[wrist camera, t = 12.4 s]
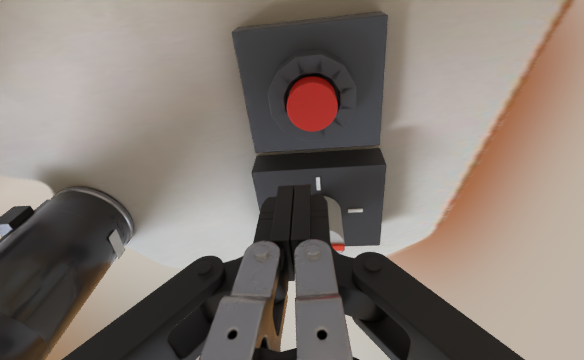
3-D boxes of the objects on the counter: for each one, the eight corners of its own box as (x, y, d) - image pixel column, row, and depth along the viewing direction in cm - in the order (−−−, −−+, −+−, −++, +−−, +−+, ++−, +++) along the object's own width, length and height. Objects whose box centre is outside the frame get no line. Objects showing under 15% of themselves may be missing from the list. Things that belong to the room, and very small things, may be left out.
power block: (258, 142, 29) (251, 163, 26) (237, 27, 23) (224, 35, 20) (375, 134, 28) (383, 155, 24) (382, 11, 22) (394, 17, 19)
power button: (290, 123, 24) (289, 133, 22) (285, 77, 22) (283, 85, 20) (336, 120, 23) (338, 130, 22) (335, 73, 21) (337, 80, 20)
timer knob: (300, 226, 31) (298, 264, 27) (298, 195, 28) (296, 231, 25) (340, 226, 30) (344, 264, 26) (341, 195, 28) (345, 231, 24)
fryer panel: (271, 229, 35) (267, 249, 33) (256, 155, 30) (251, 173, 27) (375, 225, 34) (380, 246, 31) (380, 148, 29) (386, 165, 26)
